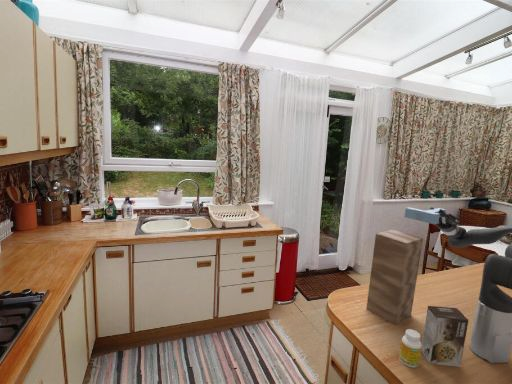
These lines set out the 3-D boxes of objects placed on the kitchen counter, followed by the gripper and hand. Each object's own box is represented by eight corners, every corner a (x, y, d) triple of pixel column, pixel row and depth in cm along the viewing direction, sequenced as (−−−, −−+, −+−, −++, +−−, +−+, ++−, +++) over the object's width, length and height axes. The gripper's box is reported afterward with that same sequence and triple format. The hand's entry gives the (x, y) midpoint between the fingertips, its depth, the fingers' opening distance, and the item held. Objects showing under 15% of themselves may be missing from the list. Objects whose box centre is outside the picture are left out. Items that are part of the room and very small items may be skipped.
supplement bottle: (408, 369, 85) (412, 340, 84) (395, 356, 90) (399, 328, 89) (422, 366, 87) (427, 337, 85) (409, 353, 92) (413, 326, 90)
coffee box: (448, 352, 93) (457, 307, 90) (460, 367, 87) (470, 320, 84) (419, 349, 94) (427, 304, 91) (429, 364, 88) (437, 316, 85)
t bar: (427, 212, 132) (428, 203, 132) (456, 218, 123) (457, 209, 122) (404, 217, 121) (405, 207, 120) (434, 224, 111) (436, 214, 111)
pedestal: (383, 300, 123) (392, 229, 117) (411, 314, 113) (423, 238, 108) (366, 308, 116) (375, 233, 111) (394, 324, 107) (406, 243, 101)
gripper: (434, 214, 139) (421, 199, 130) (467, 221, 128) (457, 205, 118) (428, 228, 138) (415, 214, 129) (461, 236, 127) (450, 222, 117)
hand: (435, 210), depth 123 cm, fingers closed on t bar, 3 cm apart
